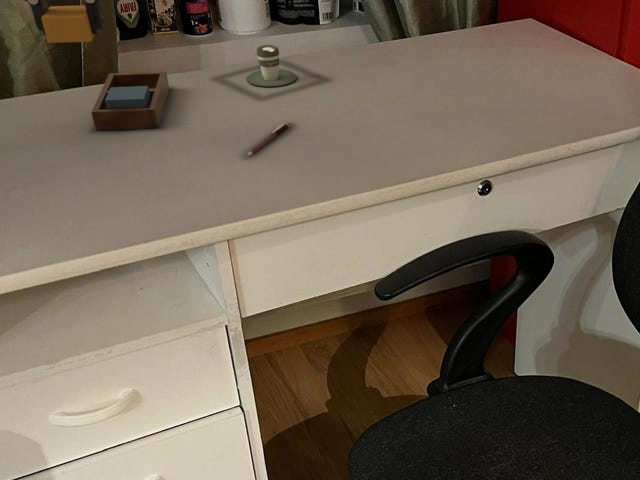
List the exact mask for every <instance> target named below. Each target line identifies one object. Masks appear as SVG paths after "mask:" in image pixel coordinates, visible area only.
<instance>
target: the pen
mask: <svg viewBox="0 0 640 480" xmlns="http://www.w3.org/2000/svg"><path fill="white" fill-rule="evenodd" d="M289 126H290V123H289V122H288V123H287V122H286V121H285V122H283V123H281V124H280V125H278V126H277V127H276V128H274V129H273V130H272V131H271V134H269V135H267V136H266V137H265V138H264V139H262V140H261V141H260V142H259V143H257V144H256V145H255V146H254V147H252V149H250V150H249V151H248V153H247V154H246V156H247V157H248V158H249V157H251V156H254V155H255V154H256V153H258V152H260V151H261V150H262V149H263V148H264V147H266V146H267V145H268V144H270V143H271V142H273V141H274V140H275V139H277V138H278V137H279V136H280V135H281V134H283V133H284V132H285V131H286V130H287V129H288V128H289Z"/></svg>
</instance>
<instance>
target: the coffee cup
mask: <svg viewBox="0 0 640 480" xmlns="http://www.w3.org/2000/svg"><path fill="white" fill-rule="evenodd" d="M256 56H257V57H258V58H257V60H258V63H259V67H260V70H257V71H254V72H252V73H250V74H248V75H247V76H246V81H247V82H248V83H249V84H250V85H252V86H255V87H259V88H277V87H278V88H279V87H282V86H287V85H290V84H293V83H294V82H295V81H296V80H298V75H297V74H296V73H295V72H293V71H291V70H289V69H281V68H280V51H279V47H278V46H276V45H274V44H263V45H259V46H258V47H257V48H256Z"/></svg>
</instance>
